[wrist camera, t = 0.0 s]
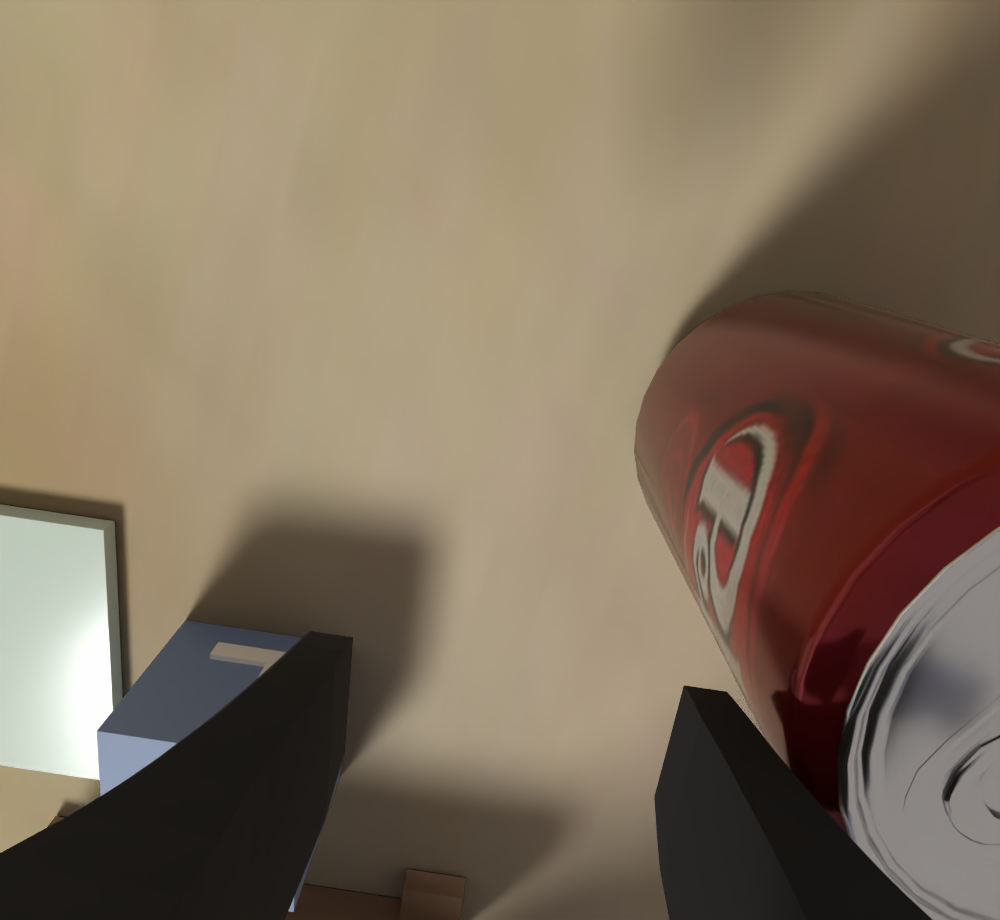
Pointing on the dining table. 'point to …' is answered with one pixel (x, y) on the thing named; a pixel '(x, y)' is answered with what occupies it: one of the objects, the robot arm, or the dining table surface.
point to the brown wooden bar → (382, 900)
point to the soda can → (850, 564)
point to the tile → (57, 639)
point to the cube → (184, 697)
